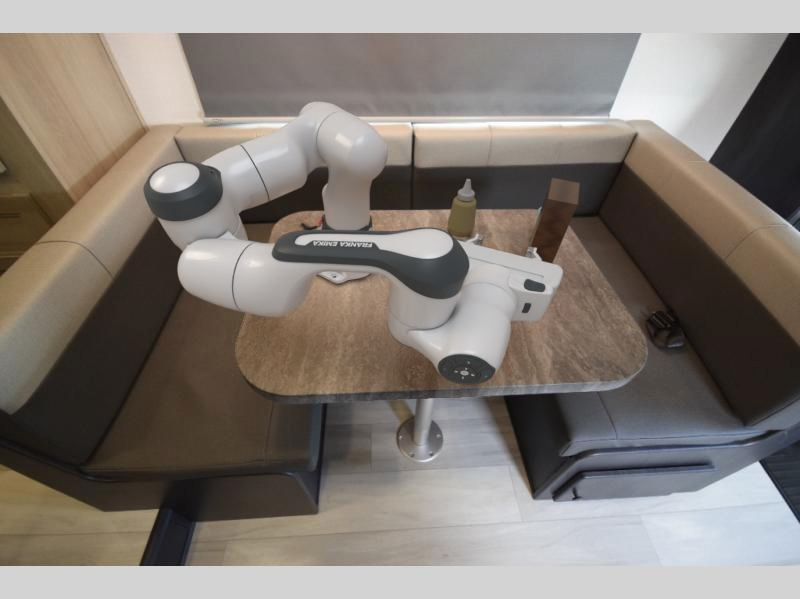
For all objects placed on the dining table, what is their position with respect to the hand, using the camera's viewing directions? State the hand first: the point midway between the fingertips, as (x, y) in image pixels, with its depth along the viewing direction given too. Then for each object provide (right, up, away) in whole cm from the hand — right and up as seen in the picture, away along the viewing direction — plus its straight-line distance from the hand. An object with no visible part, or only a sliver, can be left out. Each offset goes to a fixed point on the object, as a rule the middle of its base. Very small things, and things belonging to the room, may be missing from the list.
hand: (505, 243), depth 64 cm
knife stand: (+16, -5, +31) cm, 35 cm away
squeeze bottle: (-1, +10, +45) cm, 46 cm away
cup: (+24, +7, +43) cm, 49 cm away
